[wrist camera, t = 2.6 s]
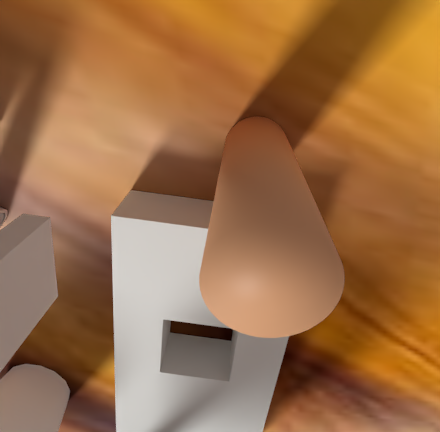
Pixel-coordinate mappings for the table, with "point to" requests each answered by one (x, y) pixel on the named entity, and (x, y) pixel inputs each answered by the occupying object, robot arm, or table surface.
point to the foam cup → (32, 399)
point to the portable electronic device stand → (3, 215)
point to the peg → (267, 240)
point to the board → (172, 342)
